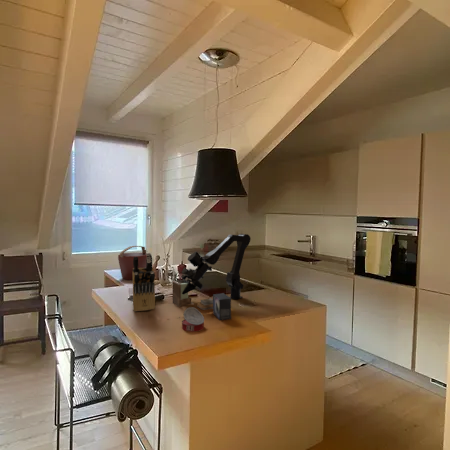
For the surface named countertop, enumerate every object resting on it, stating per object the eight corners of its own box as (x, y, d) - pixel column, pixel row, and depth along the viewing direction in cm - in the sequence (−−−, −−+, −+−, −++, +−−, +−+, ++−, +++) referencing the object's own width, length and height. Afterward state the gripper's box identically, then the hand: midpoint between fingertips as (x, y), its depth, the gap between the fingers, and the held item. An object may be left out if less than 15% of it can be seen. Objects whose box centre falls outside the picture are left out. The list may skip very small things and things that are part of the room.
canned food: (199, 334, 154) (209, 314, 155) (198, 340, 144) (209, 319, 145) (178, 322, 154) (188, 303, 155) (175, 328, 144) (186, 307, 145)
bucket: (142, 274, 273) (142, 243, 272) (155, 278, 256) (155, 246, 255) (113, 277, 258) (113, 245, 257) (125, 282, 241) (124, 248, 240)
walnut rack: (188, 302, 191) (189, 279, 190) (195, 306, 183) (195, 282, 183) (172, 304, 186) (172, 281, 186) (178, 308, 178) (178, 284, 178)
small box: (212, 314, 169) (212, 293, 169) (223, 312, 171) (224, 292, 171) (218, 320, 159) (219, 299, 159) (231, 319, 162) (231, 298, 161)
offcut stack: (210, 306, 183) (210, 297, 183) (216, 309, 177) (216, 300, 177) (197, 308, 179) (197, 299, 179) (203, 311, 173) (203, 302, 173)
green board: (186, 302, 187) (186, 282, 186) (188, 303, 185) (188, 283, 184) (180, 303, 185) (180, 283, 184) (181, 304, 183) (181, 284, 182)
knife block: (132, 318, 162) (132, 255, 161) (132, 299, 196) (132, 247, 195) (156, 316, 165) (156, 254, 164) (152, 298, 199) (152, 246, 198)
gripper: (184, 260, 194) (166, 281, 189) (197, 265, 178) (178, 287, 173) (196, 272, 198) (179, 293, 193) (210, 278, 182) (192, 300, 177)
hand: (181, 293), depth 184 cm, fingers closed on green board, 2 cm apart
